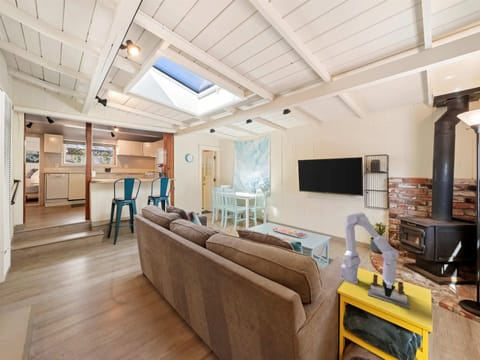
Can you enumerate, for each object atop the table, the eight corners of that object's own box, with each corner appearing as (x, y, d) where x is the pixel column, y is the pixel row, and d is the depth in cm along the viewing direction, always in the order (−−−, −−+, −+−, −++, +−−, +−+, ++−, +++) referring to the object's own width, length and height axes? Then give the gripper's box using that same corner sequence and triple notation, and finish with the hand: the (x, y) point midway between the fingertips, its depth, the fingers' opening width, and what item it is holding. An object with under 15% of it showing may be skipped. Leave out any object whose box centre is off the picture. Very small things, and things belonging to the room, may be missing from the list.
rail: (370, 292, 113) (370, 287, 113) (370, 290, 116) (371, 285, 116) (406, 304, 104) (407, 298, 104) (406, 301, 107) (406, 295, 106)
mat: (367, 295, 112) (367, 294, 112) (368, 288, 119) (368, 287, 119) (409, 309, 102) (409, 308, 102) (407, 300, 108) (407, 300, 108)
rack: (370, 287, 119) (371, 277, 119) (371, 283, 124) (371, 273, 124) (405, 298, 110) (406, 287, 110) (404, 293, 115) (405, 282, 114)
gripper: (399, 279, 101) (397, 304, 102) (397, 268, 113) (396, 291, 114) (382, 274, 105) (380, 299, 106) (382, 264, 117) (380, 286, 118)
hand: (387, 294), depth 110 cm, fingers closed on rail, 3 cm apart
